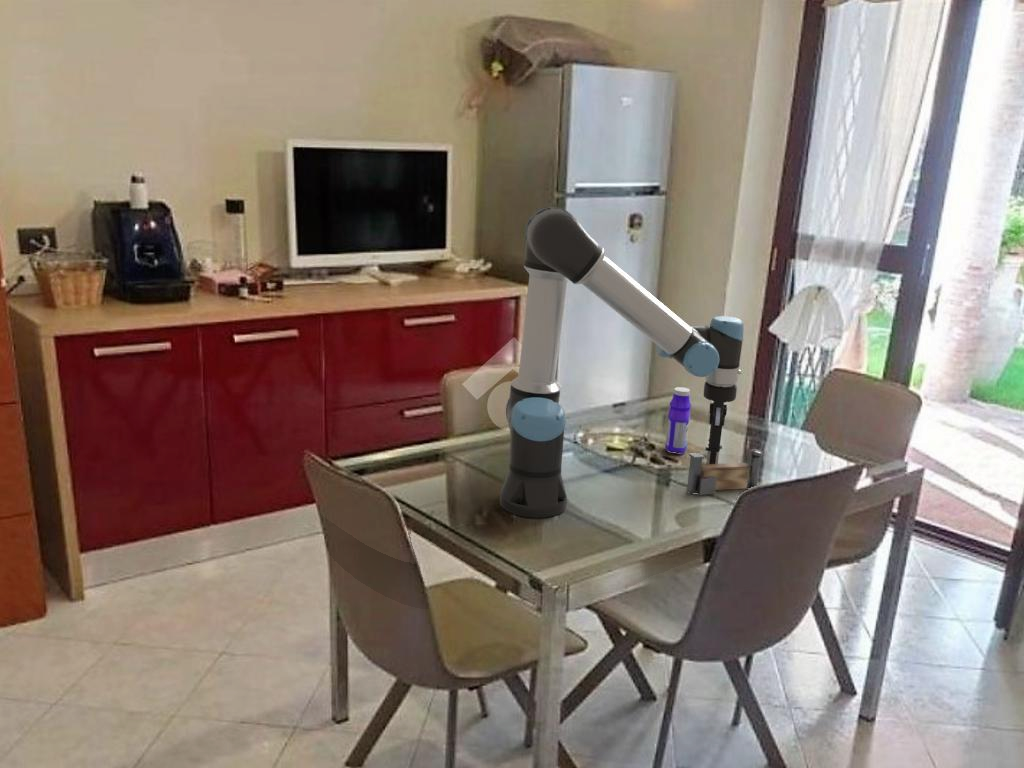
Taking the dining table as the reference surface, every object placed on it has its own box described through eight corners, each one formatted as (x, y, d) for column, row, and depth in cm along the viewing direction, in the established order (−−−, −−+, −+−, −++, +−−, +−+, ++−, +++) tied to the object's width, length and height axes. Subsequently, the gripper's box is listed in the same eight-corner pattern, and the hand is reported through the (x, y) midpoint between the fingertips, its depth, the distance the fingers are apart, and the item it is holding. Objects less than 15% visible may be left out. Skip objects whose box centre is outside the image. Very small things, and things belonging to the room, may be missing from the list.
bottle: (685, 456, 236) (693, 393, 231) (664, 454, 237) (670, 391, 232) (686, 447, 243) (693, 386, 238) (665, 445, 244) (671, 384, 239)
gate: (741, 484, 218) (744, 462, 216) (746, 488, 215) (749, 466, 214) (693, 487, 215) (696, 464, 213) (698, 491, 212) (700, 468, 211)
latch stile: (692, 497, 210) (697, 459, 207) (684, 490, 213) (689, 453, 211) (714, 495, 211) (719, 457, 209) (706, 489, 215) (711, 451, 212)
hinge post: (749, 491, 215) (754, 454, 212) (742, 486, 218) (747, 449, 215) (760, 490, 216) (765, 453, 213) (753, 485, 219) (758, 448, 216)
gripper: (737, 391, 203) (726, 487, 210) (737, 376, 215) (726, 466, 222) (704, 388, 205) (694, 483, 212) (705, 373, 216) (695, 463, 224)
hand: (710, 474), depth 217 cm, fingers closed
